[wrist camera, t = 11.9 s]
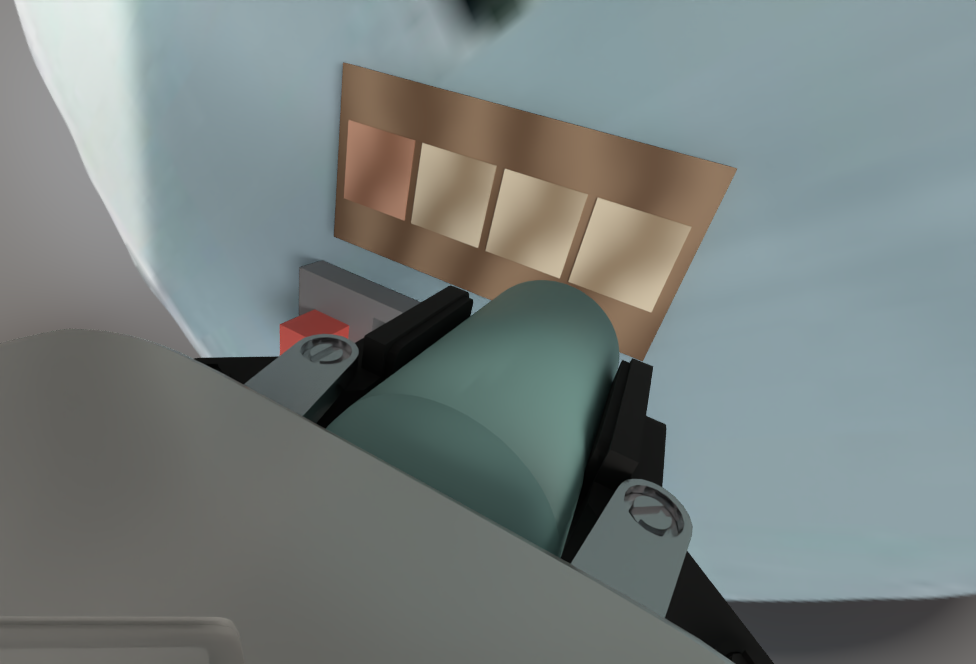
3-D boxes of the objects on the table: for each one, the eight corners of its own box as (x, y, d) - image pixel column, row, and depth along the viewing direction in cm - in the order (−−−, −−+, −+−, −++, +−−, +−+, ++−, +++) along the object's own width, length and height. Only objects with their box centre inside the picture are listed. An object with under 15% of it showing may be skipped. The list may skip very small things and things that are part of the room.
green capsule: (464, 371, 14) (209, 621, 7) (505, 255, 12) (204, 420, 5) (581, 435, 14) (444, 814, 6) (647, 322, 11) (576, 675, 4)
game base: (318, 355, 41) (264, 385, 36) (321, 260, 36) (260, 279, 31) (461, 427, 37) (424, 473, 32) (486, 330, 32) (448, 365, 27)
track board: (342, 234, 34) (333, 236, 33) (353, 65, 29) (342, 62, 28) (643, 354, 28) (642, 361, 27) (735, 167, 22) (737, 168, 21)
